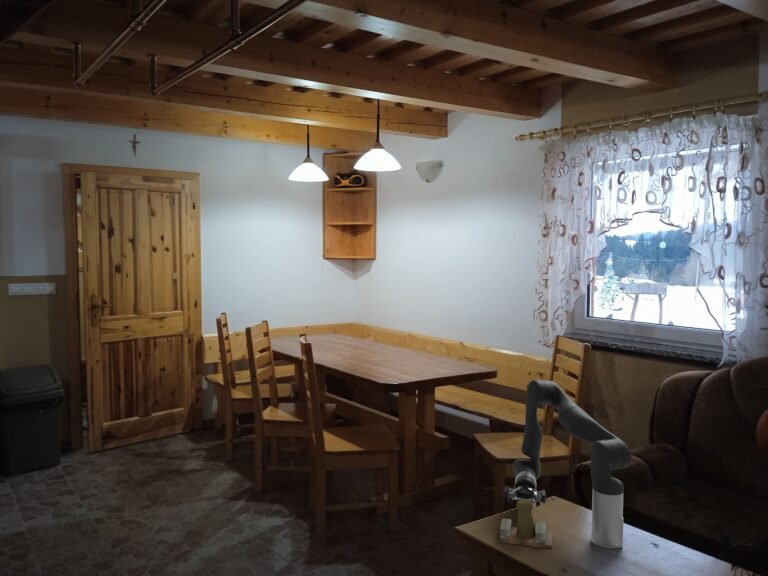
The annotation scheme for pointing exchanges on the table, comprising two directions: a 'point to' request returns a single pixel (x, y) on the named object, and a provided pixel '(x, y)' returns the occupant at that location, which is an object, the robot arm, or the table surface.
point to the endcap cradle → (538, 540)
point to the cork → (525, 518)
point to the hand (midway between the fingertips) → (524, 502)
